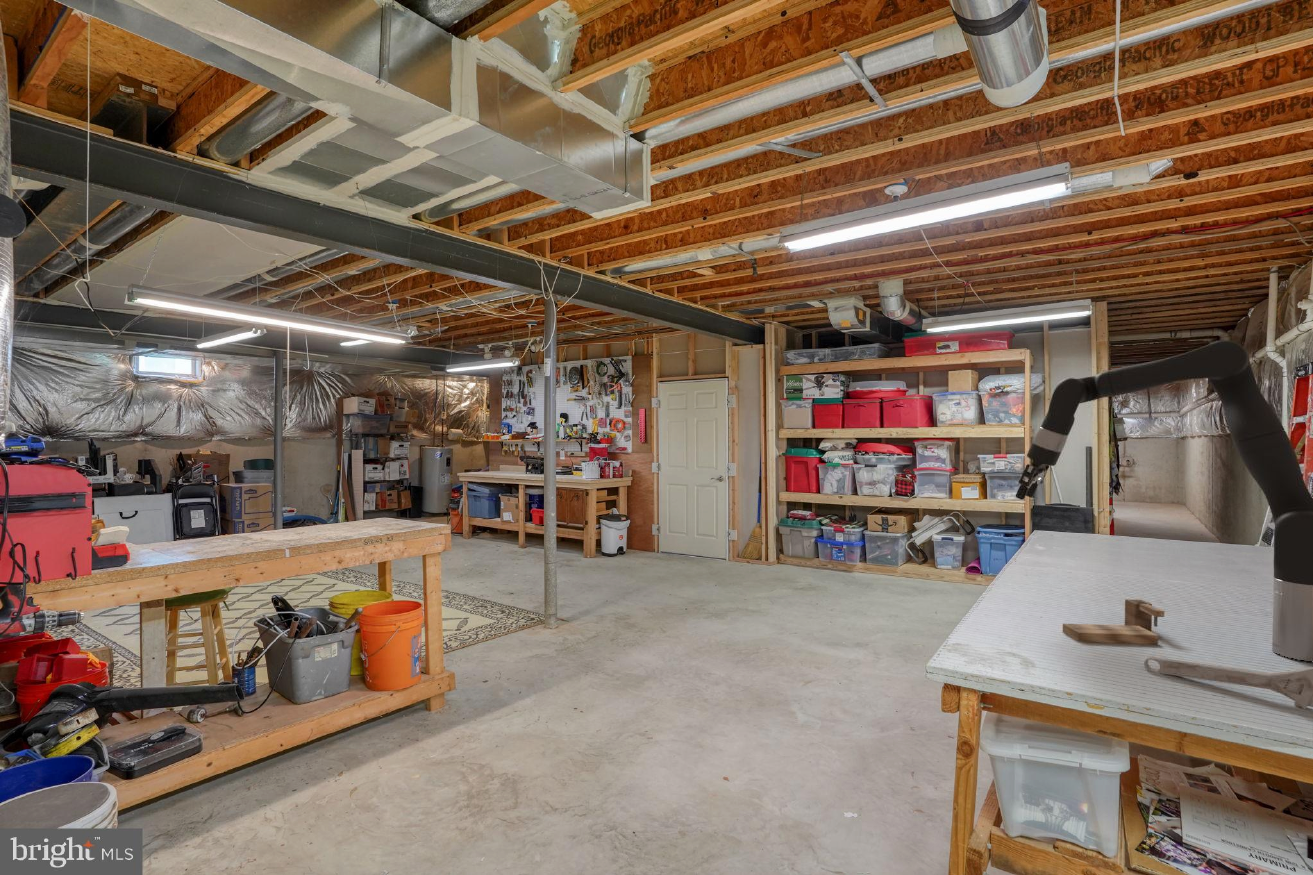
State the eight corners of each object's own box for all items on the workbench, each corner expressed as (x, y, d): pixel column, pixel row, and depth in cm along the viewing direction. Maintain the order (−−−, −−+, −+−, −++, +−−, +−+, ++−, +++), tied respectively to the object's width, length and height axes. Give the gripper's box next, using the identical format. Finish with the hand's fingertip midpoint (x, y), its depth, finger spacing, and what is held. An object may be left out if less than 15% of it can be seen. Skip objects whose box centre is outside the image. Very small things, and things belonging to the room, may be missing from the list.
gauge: (1141, 626, 164) (1141, 599, 164) (1168, 639, 154) (1168, 611, 154) (1124, 625, 164) (1125, 599, 164) (1150, 638, 154) (1151, 610, 154)
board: (1138, 634, 157) (1138, 625, 157) (1157, 644, 150) (1158, 634, 150) (1062, 632, 159) (1062, 623, 159) (1078, 641, 152) (1078, 632, 152)
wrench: (1148, 681, 136) (1354, 715, 112) (1146, 683, 135) (1353, 718, 111) (1144, 643, 136) (1347, 669, 113) (1141, 645, 135) (1346, 672, 112)
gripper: (1054, 451, 171) (1029, 505, 175) (1068, 450, 181) (1044, 501, 185) (1025, 441, 176) (1002, 493, 180) (1040, 440, 186) (1018, 490, 190)
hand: (1023, 497), depth 183 cm, fingers open, 8 cm apart
